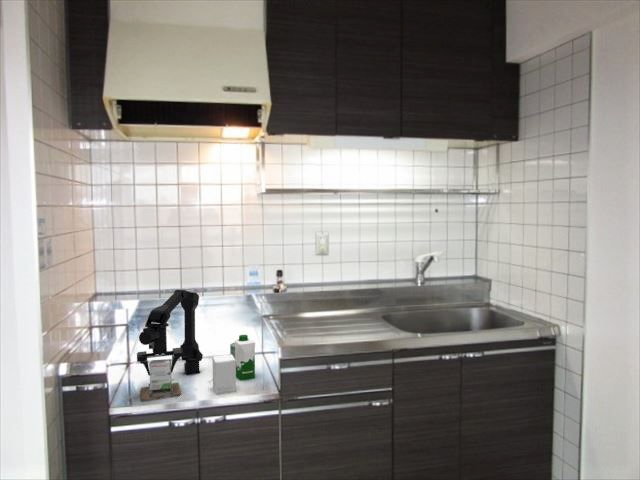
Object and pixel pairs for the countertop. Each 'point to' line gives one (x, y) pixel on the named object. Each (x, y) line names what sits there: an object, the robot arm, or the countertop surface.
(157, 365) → the ink box
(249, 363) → the milk carton
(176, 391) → the base plate
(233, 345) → the canned tomato
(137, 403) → the countertop surface
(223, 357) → the supplement box
